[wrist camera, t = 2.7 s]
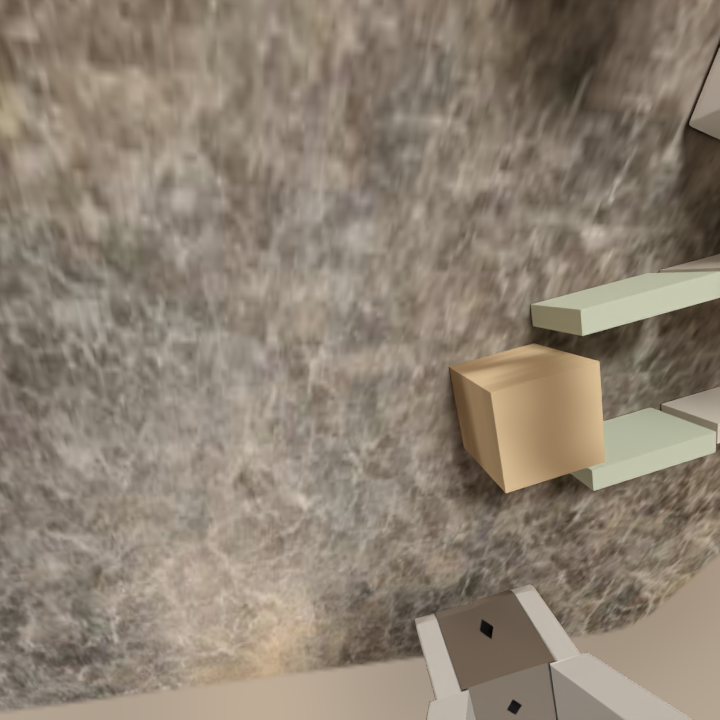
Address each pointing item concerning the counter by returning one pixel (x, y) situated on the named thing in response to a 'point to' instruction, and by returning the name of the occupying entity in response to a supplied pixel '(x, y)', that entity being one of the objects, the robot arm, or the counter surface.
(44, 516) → the counter surface
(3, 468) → the counter surface
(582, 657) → the robot arm
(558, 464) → the maple block
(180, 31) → the counter surface
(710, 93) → the milk carton
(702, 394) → the end bay
